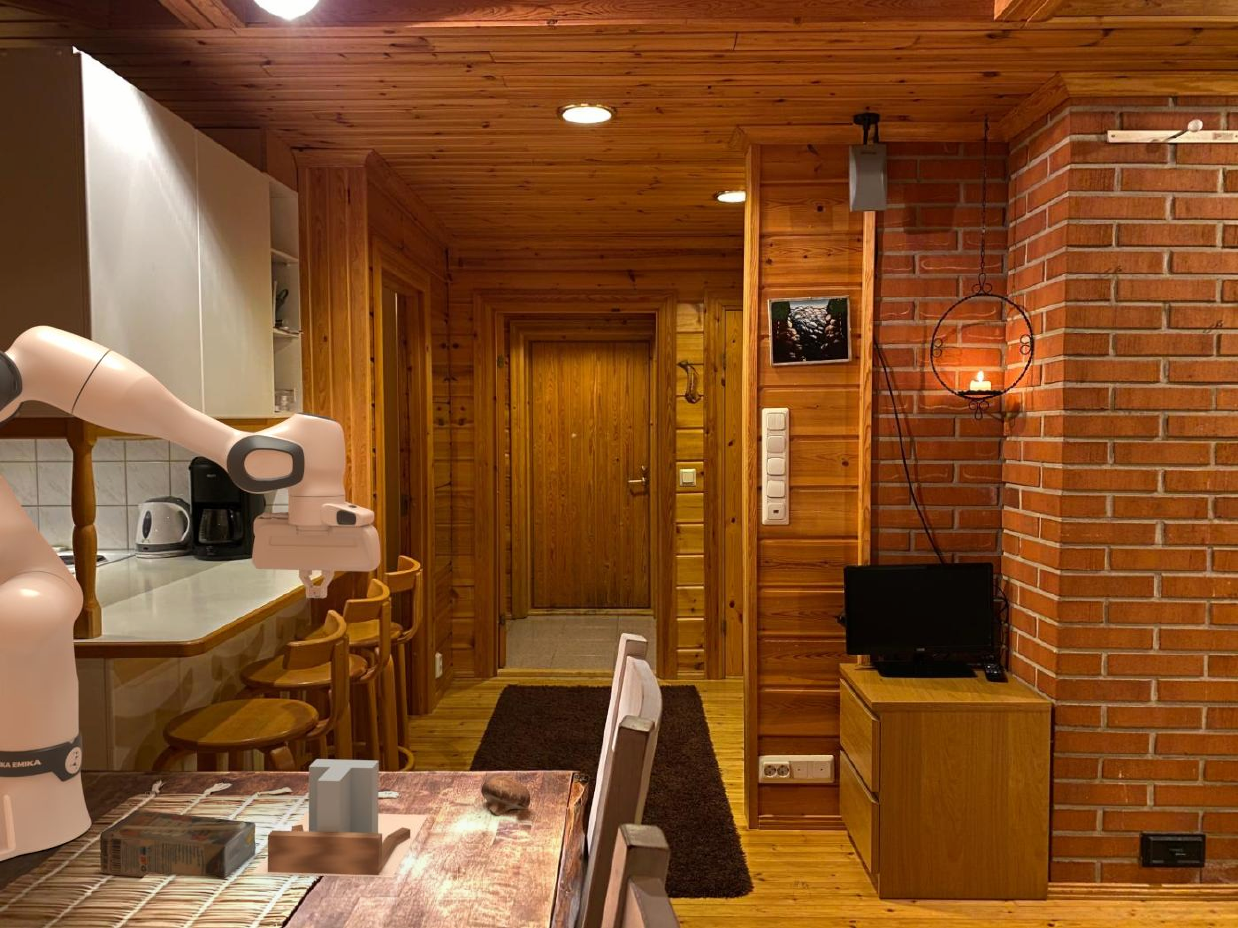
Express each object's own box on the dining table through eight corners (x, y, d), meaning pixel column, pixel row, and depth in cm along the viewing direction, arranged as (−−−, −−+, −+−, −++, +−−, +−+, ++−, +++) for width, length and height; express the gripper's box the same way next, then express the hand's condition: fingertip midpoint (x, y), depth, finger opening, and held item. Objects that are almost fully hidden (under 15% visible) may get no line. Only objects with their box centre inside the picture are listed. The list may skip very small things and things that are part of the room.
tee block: (295, 867, 124) (295, 779, 123) (316, 841, 132) (316, 758, 131) (360, 869, 123) (361, 781, 123) (378, 842, 131) (378, 760, 131)
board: (251, 880, 122) (251, 873, 122) (306, 818, 142) (306, 811, 142) (392, 884, 121) (392, 877, 121) (427, 821, 141) (428, 814, 141)
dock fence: (258, 871, 122) (258, 834, 122) (293, 832, 134) (293, 798, 134) (388, 875, 122) (388, 838, 122) (411, 835, 134) (411, 801, 134)
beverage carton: (225, 888, 120) (225, 840, 120) (96, 876, 123) (95, 829, 123) (257, 861, 128) (257, 815, 127) (135, 850, 131) (135, 806, 130)
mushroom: (487, 809, 138) (500, 768, 142) (465, 812, 144) (478, 773, 148) (531, 826, 141) (543, 786, 145) (508, 828, 147) (519, 790, 151)
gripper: (245, 513, 146) (245, 599, 146) (372, 515, 145) (371, 602, 145) (262, 510, 152) (261, 592, 152) (383, 512, 151) (383, 595, 152)
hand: (316, 597), depth 149 cm, fingers closed
